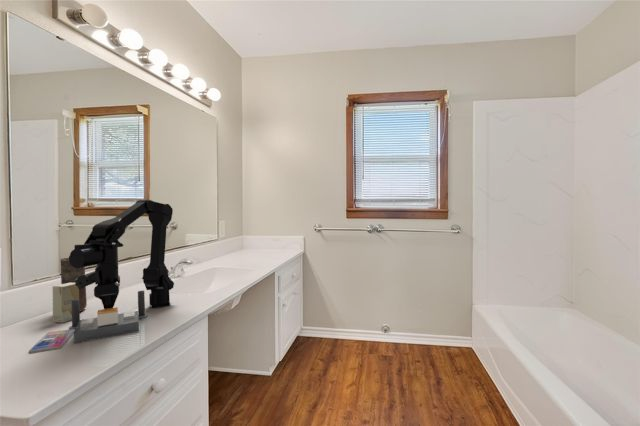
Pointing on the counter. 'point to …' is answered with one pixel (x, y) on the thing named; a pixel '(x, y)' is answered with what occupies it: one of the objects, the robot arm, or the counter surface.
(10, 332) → the counter surface
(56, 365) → the counter surface
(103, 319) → the slider
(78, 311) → the post
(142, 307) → the post
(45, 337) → the smartphone
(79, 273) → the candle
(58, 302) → the skincare box
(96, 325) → the panel
